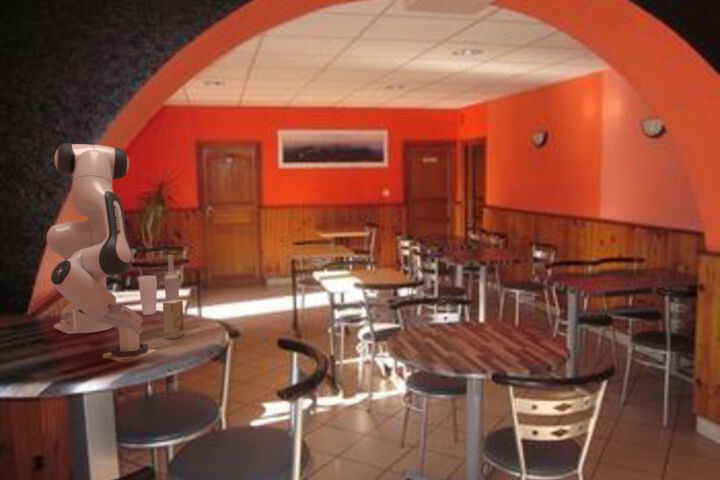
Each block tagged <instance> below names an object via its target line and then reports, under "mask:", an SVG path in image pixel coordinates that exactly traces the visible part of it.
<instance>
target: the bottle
mask: <svg viewBox="0 0 720 480" xmlns="http://www.w3.org/2000/svg"><path fill="white" fill-rule="evenodd" d="M174 266H175V265H174V254H168V255H167V267H168V268H167V269H168V270H167V271H168V273H167V275H165V277H164V279H163V280H164V291H165V293H164V295H165V302H167V301H170V300H180V291H179V290H180V288H179V287H180V285H179V280H180V279H179V278H180V277H179V276H178V275H177V274H176V273H175V269H174Z"/></svg>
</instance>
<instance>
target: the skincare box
mask: <svg viewBox="0 0 720 480" xmlns="http://www.w3.org/2000/svg"><path fill="white" fill-rule="evenodd" d="M183 302H184V301H183V300H182V299H179V300H170V301H167V302H166V301H165V302H162V312H163V317H162V318H163V338H164V339H175V340H176V339H178V338H179V337H181V336H184V335H185V331H184V330H185V328H184V327H185V326H184V303H183ZM183 334H184V335H183Z"/></svg>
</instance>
